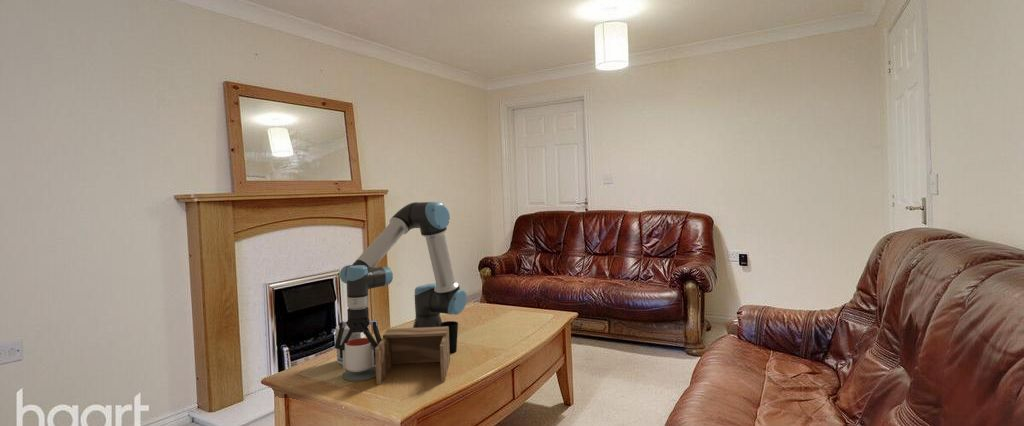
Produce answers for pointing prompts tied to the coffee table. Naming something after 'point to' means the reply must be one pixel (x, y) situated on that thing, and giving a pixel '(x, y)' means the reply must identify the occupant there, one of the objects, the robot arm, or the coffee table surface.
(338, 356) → the supplement tub
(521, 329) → the coffee table surface
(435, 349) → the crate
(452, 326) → the cup
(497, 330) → the coffee table surface
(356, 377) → the coaster
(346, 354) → the cup
